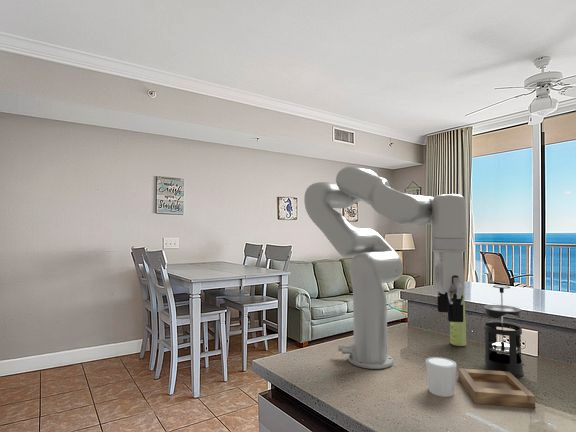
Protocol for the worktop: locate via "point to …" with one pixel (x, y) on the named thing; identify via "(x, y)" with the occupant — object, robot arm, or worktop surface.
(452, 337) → the tube
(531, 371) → the worktop surface
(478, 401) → the tray
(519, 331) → the french press
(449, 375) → the white tapered cylinder
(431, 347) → the worktop surface
